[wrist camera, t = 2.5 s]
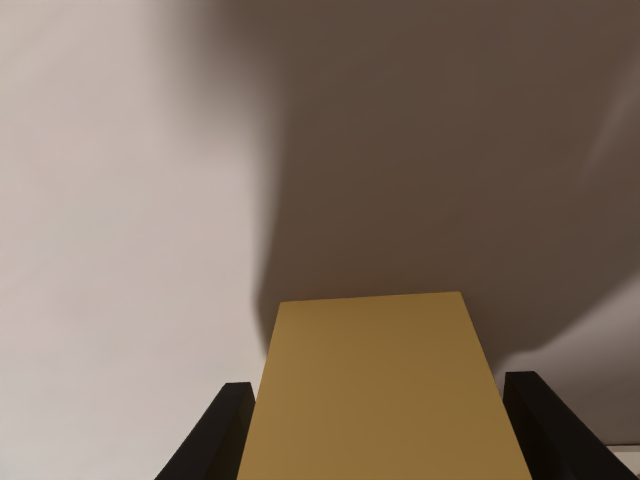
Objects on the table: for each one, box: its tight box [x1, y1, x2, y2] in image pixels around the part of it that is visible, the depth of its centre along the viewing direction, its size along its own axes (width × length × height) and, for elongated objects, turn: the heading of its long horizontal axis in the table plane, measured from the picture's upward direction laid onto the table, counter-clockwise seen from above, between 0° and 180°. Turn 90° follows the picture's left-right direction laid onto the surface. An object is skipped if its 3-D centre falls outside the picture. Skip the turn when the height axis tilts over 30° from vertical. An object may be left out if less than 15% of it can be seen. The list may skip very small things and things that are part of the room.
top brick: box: [237, 291, 532, 480], centre depth 9 cm, size 4×4×6 cm
